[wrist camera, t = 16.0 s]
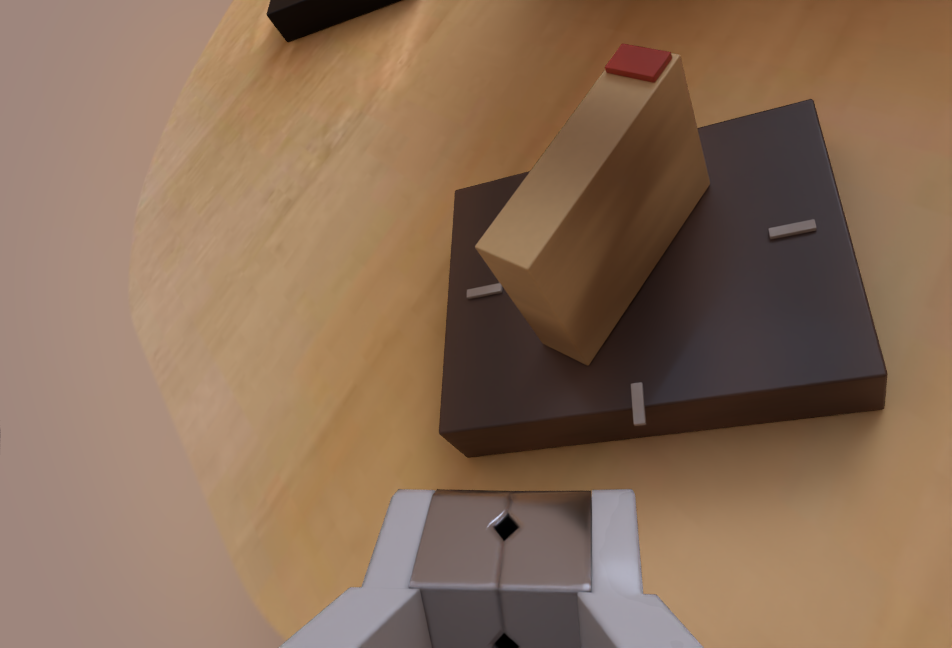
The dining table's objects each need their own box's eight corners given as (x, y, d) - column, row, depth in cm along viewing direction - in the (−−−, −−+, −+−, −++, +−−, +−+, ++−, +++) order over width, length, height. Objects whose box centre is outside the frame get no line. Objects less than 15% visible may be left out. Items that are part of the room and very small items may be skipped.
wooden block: (588, 366, 25) (524, 264, 20) (541, 343, 26) (470, 241, 21) (710, 183, 26) (679, 47, 21) (662, 169, 27) (621, 37, 23)
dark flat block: (466, 473, 28) (434, 448, 25) (477, 213, 34) (453, 176, 32) (890, 428, 22) (893, 392, 20) (812, 133, 29) (809, 82, 27)
